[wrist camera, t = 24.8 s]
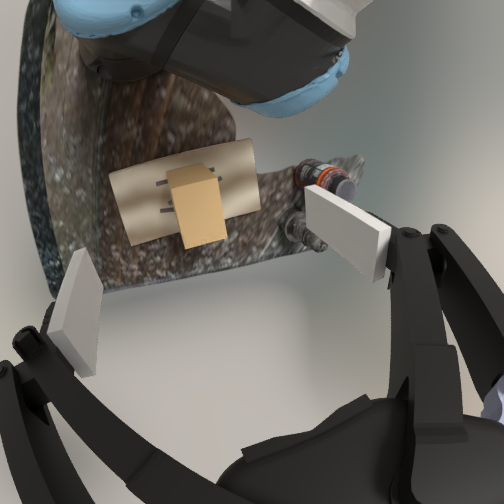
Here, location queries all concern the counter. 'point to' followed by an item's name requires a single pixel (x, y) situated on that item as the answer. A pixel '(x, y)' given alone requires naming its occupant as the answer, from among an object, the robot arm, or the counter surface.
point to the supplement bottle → (325, 178)
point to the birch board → (158, 193)
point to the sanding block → (197, 204)
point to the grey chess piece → (299, 229)
